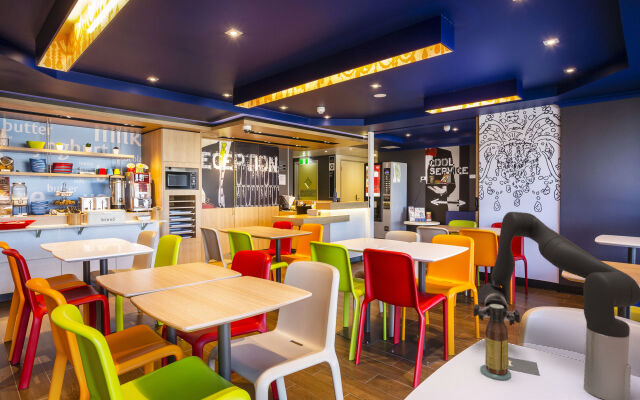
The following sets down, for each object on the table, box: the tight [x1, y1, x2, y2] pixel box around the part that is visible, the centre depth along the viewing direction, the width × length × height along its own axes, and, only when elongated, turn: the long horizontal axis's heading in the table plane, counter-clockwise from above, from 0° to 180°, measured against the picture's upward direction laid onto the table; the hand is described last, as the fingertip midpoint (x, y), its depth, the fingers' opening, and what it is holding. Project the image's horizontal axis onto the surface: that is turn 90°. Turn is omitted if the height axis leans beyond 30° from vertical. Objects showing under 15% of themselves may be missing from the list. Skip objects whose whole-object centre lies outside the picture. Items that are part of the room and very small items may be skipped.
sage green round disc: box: [479, 364, 512, 381], centre depth 109 cm, size 8×8×1 cm
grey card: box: [508, 356, 541, 377], centre depth 115 cm, size 14×9×1 cm, turn 65°
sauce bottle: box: [484, 304, 509, 375], centre depth 109 cm, size 6×6×20 cm
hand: (496, 320), depth 119 cm, fingers open, 8 cm apart
